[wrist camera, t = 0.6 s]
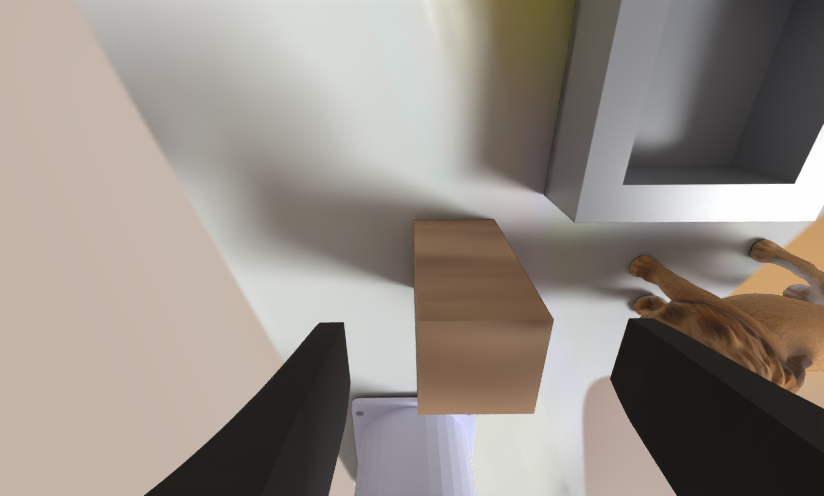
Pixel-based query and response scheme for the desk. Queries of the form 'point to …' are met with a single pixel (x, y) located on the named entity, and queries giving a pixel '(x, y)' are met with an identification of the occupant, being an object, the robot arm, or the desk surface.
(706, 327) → the lion figurine
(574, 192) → the square well
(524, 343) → the walnut block
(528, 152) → the desk surface
